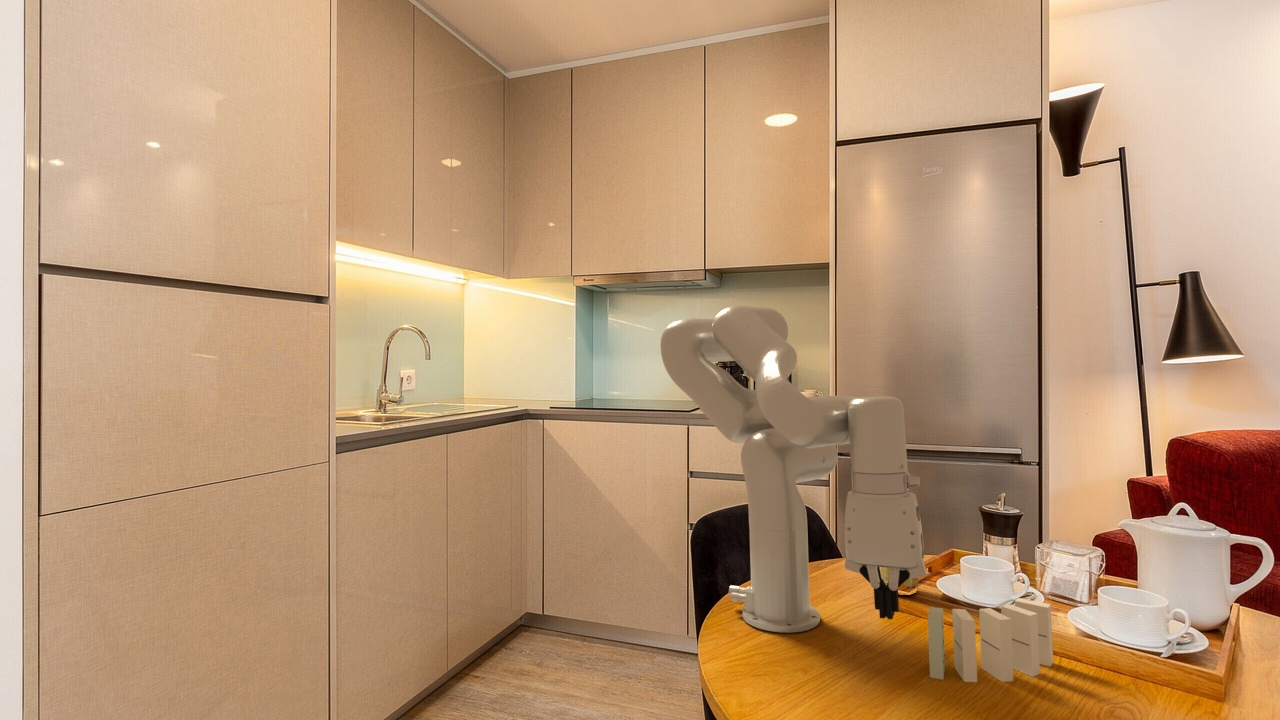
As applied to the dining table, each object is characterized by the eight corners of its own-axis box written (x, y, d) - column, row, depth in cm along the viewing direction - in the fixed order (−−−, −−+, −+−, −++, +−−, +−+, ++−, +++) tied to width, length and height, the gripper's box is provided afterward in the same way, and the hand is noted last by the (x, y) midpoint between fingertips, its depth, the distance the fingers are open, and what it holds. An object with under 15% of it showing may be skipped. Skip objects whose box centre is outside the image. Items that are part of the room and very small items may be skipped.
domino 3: (1032, 676, 83) (1029, 615, 83) (1003, 664, 87) (1000, 606, 87) (1040, 673, 84) (1037, 613, 84) (1011, 661, 87) (1008, 603, 88)
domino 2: (1002, 681, 82) (999, 620, 82) (981, 668, 86) (979, 608, 86) (1014, 680, 82) (1011, 619, 82) (992, 666, 86) (990, 608, 86)
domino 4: (1050, 666, 86) (1047, 607, 86) (1017, 658, 88) (1014, 600, 89) (1053, 662, 87) (1050, 604, 87) (1020, 654, 90) (1018, 597, 90)
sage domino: (929, 677, 84) (927, 616, 84) (932, 664, 87) (930, 606, 87) (944, 679, 83) (941, 618, 83) (945, 667, 86) (943, 608, 86)
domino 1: (963, 681, 82) (961, 619, 82) (954, 667, 86) (952, 608, 86) (978, 682, 82) (975, 620, 82) (967, 668, 86) (965, 609, 86)
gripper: (939, 481, 89) (948, 614, 88) (831, 478, 96) (838, 600, 95) (935, 490, 82) (944, 633, 81) (820, 485, 89) (827, 617, 88)
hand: (887, 615), depth 88 cm, fingers closed
